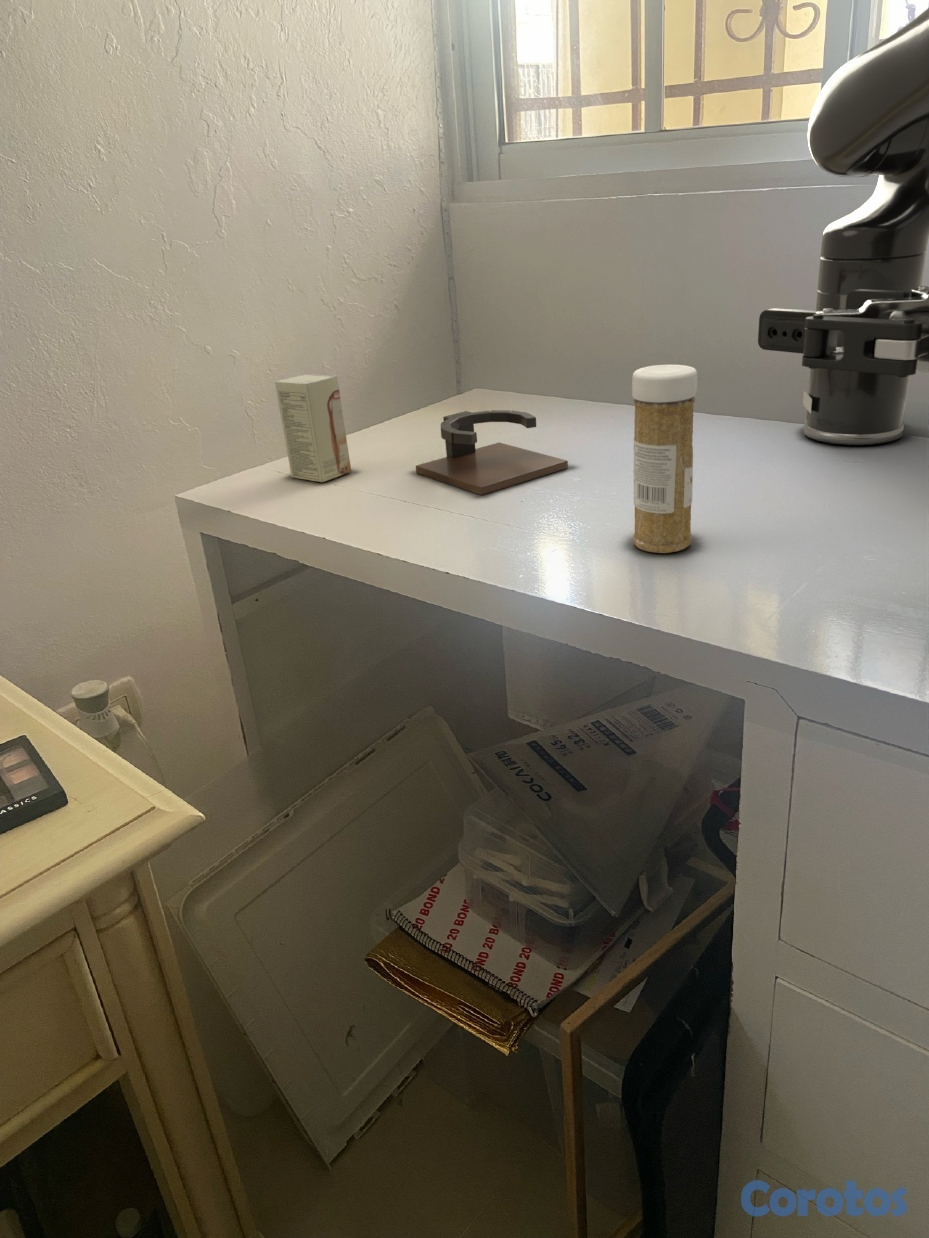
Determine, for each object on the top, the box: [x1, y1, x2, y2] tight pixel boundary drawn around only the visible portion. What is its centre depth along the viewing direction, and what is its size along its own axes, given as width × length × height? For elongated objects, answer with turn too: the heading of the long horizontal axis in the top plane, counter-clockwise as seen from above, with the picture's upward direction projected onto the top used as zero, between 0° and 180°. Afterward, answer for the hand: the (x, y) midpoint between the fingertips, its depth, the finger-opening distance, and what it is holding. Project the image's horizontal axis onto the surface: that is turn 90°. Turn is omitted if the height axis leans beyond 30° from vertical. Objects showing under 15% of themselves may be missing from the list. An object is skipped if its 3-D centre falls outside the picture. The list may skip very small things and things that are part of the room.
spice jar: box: [631, 364, 698, 554], centre depth 68 cm, size 5×5×13 cm
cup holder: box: [415, 409, 569, 496], centre depth 91 cm, size 11×11×5 cm
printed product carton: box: [274, 373, 352, 483], centre depth 93 cm, size 5×4×10 cm
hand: (806, 318), depth 55 cm, fingers open, 8 cm apart
